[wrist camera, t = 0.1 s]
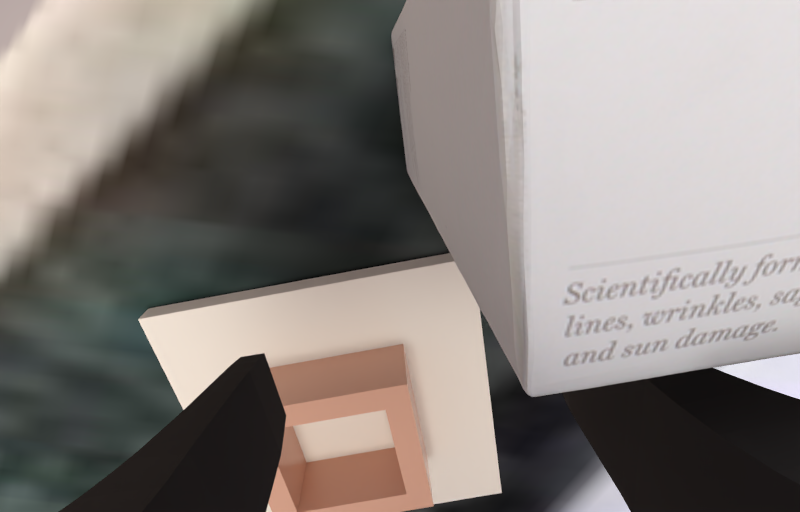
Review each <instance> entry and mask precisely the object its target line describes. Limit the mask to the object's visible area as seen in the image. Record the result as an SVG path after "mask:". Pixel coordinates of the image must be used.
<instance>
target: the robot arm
mask: <svg viewBox="0 0 800 512" xmlns="http://www.w3.org/2000/svg"><path fill="white" fill-rule="evenodd" d="M562 394H563V396H564V399H565V401H566V403H567V405H568V407H569V409H570V411H571V413H572V414H573V416H574V418H575V419H576V421H577V423H578V424H579V426H580V428H581V429H582V431H583V433H584V434H585V436H586V438H587V439H588V441H589V443H590V444H591V446H592V447H593V449H594V451H595V452H596V454H597V456H598V457H599V459H600V461H601V462H602V464H603V465H604V467H605V469H606V470H607V472H608V474H609V475H610V477H611V478H612V480H613V482H614V483H615V485H616V487H617V488H618V490H619V492H620V493H621V495H622V497H623V498H624V500H625V502H626V504H627V505H628V507H629V509H630V511H631V512H800V399H797V398H793V397H790V396H787V395H784V394H781V393H778V392H776V391H773V390H770V389H767V388H764V387H761V386H759V385H756V384H753V383H751V382H748V381H745V380H743V379H740V378H737V377H735V376H732V375H729V374H727V373H724V372H722V371H719V370H717V369H714V368H706V369H700V370H694V371H689V372H683V373H677V374H671V375H665V376H659V377H654V378H648V379H642V380H636V381H630V382H624V383H618V384H613V385H607V386H601V387H595V388H589V389H583V390H576V391H569V392H563V393H562ZM285 422H286V413H285V410H284V408H283V405H282V402H281V399H280V396H279V393H278V390H277V388H276V385H275V382H274V379H273V376H272V373H271V371H270V368H269V365H268V362H267V359H266V356H265V354H264V353H262V354H256V355H250V356H244V357H240V358H239V359H238V360H236V361H235V362H234V363H233V364H232V365H231V366H229V367H228V368H227V369H226V370H225V371H224V372H223V373H222V374H221V375H220V376H219V377H218V378H217V379H216V380H215V381H214V382H213V383H212V384H210V385H209V386H208V387H207V388H206V389H205V390H204V391H203V392H202V393H201V394H200V395H199V396H198V397H197V398H196V399H195V400H194V401H193V402H192V403H191V404H190V405H189V406H187V407H186V408H185V409H184V410H183V411H182V412H181V413H180V414H179V415H178V416H177V417H176V418H175V419H174V420H172V421H171V422H170V423H169V424H168V425H167V426H166V427H165V428H163V429H162V430H161V431H160V432H159V433H158V434H157V435H156V436H154V437H153V438H152V439H151V440H150V441H149V442H148V443H147V444H145V445H144V446H143V447H142V448H141V449H140V450H139V451H138V452H136V453H135V454H134V455H133V456H132V457H130V458H129V459H128V460H127V461H126V462H124V463H123V464H122V465H121V466H119V467H118V468H117V469H116V470H114V471H113V472H112V473H111V474H109V475H108V476H107V477H105V478H104V479H103V480H101V481H100V482H99V483H98V484H96V485H95V486H94V487H92V488H91V489H90V490H89V491H87V492H86V493H84V494H83V495H82V496H80V497H79V498H78V499H76V500H75V501H73V502H72V503H71V504H69V505H68V506H66V507H65V508H63V509H62V510H61V511H59V512H266V510H267V506H268V502H269V499H270V495H271V491H272V488H273V484H274V480H275V476H276V473H277V469H278V465H279V461H280V457H281V452H282V445H283V438H284V431H285Z"/></svg>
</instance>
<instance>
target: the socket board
mask: <svg viewBox="0 0 800 512" xmlns="http://www.w3.org/2000/svg"><path fill="white" fill-rule="evenodd" d="M138 320H139V322H140V324H141V326H142V328H143V330H144V332H145V334H146V336H147V338H148V340H149V342H150V344H151V346H152V348H153V350H154V352H155V354H156V356H157V358H158V360H159V362H160V364H161V366H162V368H163V370H164V372H165V374H166V376H167V378H168V380H169V382H170V384H171V386H172V388H173V390H174V392H175V394H176V396H177V398H178V400H179V402H180V404H181V406H182V408H183V410H184V409H185V408H186V407H187V406H189V405H190V404H191V403H192V402H193V401H194V400H195V399H196V398H197V397H198V396H199V395H200V394H201V393H202V392H203V391H204V390H205V389H206V388H207V387H208V386H209V385H210V384H212V383H213V382H214V381H215V380H216V379H217V378H218V377H219V376H220V375H221V374H222V373H223V372H224V371H225V370H226V369H227V368H228V367H229V366H231V365H232V364H233V363H234V362H235V361H236V360H238V359H239V358H240V357H244V356H250V355H256V354H262V353H264V354H265V356H266V359H267V362H268V365H269V368H270V371H271V373H272V376H273V379H274V382H275V385H276V388H277V390H278V393H279V396H280V399H281V402H282V405H283V408H284V410H285V413H286V422H285V431H284V438H283V445H282V452H281V457H280V461H279V465H278V469H277V473H276V476H275V480H274V484H273V488H272V491H271V495H270V499H269V502H268V506H267V510H266V512H402V511H408V510H414V509H420V508H426V507H432V506H434V504H438V503H444V502H450V501H456V500H462V499H468V498H474V497H480V496H485V495H491V494H497V493H502V491H501V483H500V475H499V466H498V458H497V450H496V441H495V433H494V425H493V416H492V408H491V399H490V391H489V383H488V374H487V366H486V358H485V349H484V341H483V333H482V324H481V316H480V308H479V306H478V304H477V302H476V300H475V298H474V296H473V294H472V292H471V291H470V289H469V287H468V285H467V283H466V281H465V279H464V278H463V276H462V274H461V272H460V271H459V269H458V267H457V265H456V263H455V261H454V259H453V257H452V255H451V254H450V253H447V254H442V255H436V256H431V257H425V258H420V259H415V260H409V261H404V262H398V263H393V264H387V265H382V266H377V267H371V268H366V269H360V270H355V271H349V272H344V273H339V274H333V275H328V276H322V277H317V278H312V279H306V280H301V281H295V282H290V283H284V284H279V285H274V286H268V287H263V288H257V289H252V290H246V291H241V292H236V293H230V294H225V295H219V296H214V297H208V298H203V299H198V300H192V301H187V302H181V303H176V304H171V305H165V306H160V307H154V308H149V309H148V310H147V311H146V312H145V313H144V314H143V315H142V316H141V317H140V318H139V319H138Z"/></svg>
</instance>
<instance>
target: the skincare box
mask: <svg viewBox="0 0 800 512" xmlns="http://www.w3.org/2000/svg"><path fill="white" fill-rule="evenodd" d="M391 39H392V47H393V56H394V64H395V73H396V82H397V91H398V100H399V108H400V117H401V126H402V134H403V142H404V150H405V159H406V166H407V173H408V175H409V177H410V179H411V181H412V183H413V185H414V186H415V188H416V190H417V192H418V194H419V196H420V197H421V199H422V201H423V203H424V205H425V206H426V208H427V210H428V212H429V214H430V216H431V218H432V220H433V221H434V223H435V226H436V228H437V230H438V231H439V233H440V235H441V236H442V238H443V240H444V242H445V244H446V246H447V248H448V250H449V252H450V254H451V255H452V257H453V259H454V261H455V263H456V265H457V267H458V269H459V271H460V272H461V274H462V276H463V278H464V279H465V281H466V283H467V285H468V287H469V289H470V291H471V292H472V294H473V296H474V298H475V300H476V302H477V304H478V306H479V308H480V309H481V311H482V313H483V315H484V316H485V318H486V320H487V321H488V323H489V325H490V327H491V329H492V331H493V333H494V334H495V336H496V338H497V340H498V342H499V344H500V346H501V348H502V349H503V351H504V353H505V355H506V357H507V359H508V361H509V362H510V364H511V366H512V368H513V370H514V371H515V373H516V375H517V377H518V379H519V381H520V383H521V385H522V387H523V389H524V391H525V392H526V393H527V394H528V395H530V396H532V397H536V396H543V395H549V394H556V393H563V392H569V391H576V390H583V389H589V388H595V387H601V386H607V385H613V384H618V383H624V382H630V381H636V380H642V379H648V378H654V377H659V376H665V375H671V374H677V373H683V372H689V371H694V370H700V369H706V368H713V367H719V366H725V365H731V364H738V363H744V362H750V361H755V360H761V359H767V358H773V357H779V356H786V355H792V354H798V353H800V0H407V1H406V3H405V5H404V7H403V10H402V12H401V14H400V16H399V18H398V20H397V22H396V24H395V26H394V28H393V30H392V35H391Z"/></svg>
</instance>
